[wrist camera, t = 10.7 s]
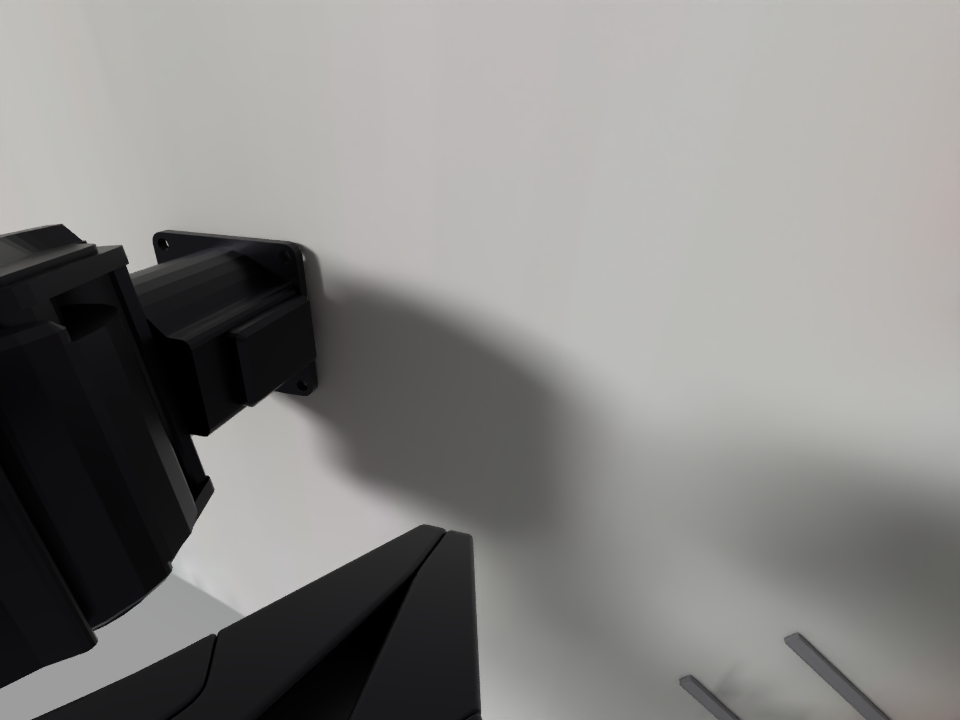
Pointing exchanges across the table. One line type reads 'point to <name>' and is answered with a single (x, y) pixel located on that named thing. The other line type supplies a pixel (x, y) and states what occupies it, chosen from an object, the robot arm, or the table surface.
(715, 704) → the tray
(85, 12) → the table surface
